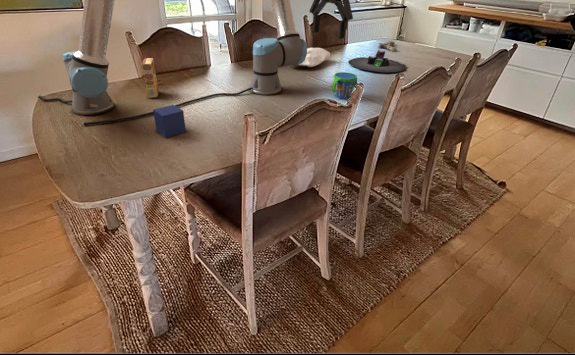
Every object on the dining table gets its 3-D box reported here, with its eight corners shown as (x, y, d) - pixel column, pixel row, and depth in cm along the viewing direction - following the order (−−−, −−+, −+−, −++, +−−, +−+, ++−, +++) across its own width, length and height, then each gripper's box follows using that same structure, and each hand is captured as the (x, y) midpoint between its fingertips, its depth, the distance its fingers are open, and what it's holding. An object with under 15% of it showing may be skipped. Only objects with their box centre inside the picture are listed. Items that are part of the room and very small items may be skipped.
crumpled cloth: (269, 61, 216) (271, 46, 210) (311, 52, 236) (313, 38, 230) (296, 77, 203) (298, 61, 198) (337, 66, 223) (341, 52, 218)
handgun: (406, 44, 264) (388, 40, 272) (394, 47, 252) (376, 43, 260) (405, 48, 265) (387, 44, 273) (394, 52, 254) (375, 47, 262)
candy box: (157, 97, 164) (152, 63, 155) (147, 98, 163) (141, 63, 155) (158, 91, 171) (153, 57, 163) (149, 91, 170) (143, 58, 162)
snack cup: (348, 90, 181) (350, 70, 176) (362, 97, 174) (365, 76, 168) (323, 95, 174) (325, 74, 168) (337, 102, 166) (340, 80, 161)
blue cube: (165, 137, 131) (162, 116, 127) (156, 130, 136) (152, 109, 131) (186, 131, 136) (183, 110, 131) (176, 125, 140) (173, 104, 136)
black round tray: (418, 67, 219) (420, 52, 215) (377, 75, 202) (379, 59, 197) (375, 58, 244) (377, 43, 239) (336, 64, 226) (337, 49, 222)
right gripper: (367, -22, 131) (358, 39, 142) (316, -28, 145) (312, 28, 157) (354, -22, 126) (347, 42, 138) (303, -27, 141) (299, 30, 152)
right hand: (328, 35), depth 147 cm, fingers open, 13 cm apart
